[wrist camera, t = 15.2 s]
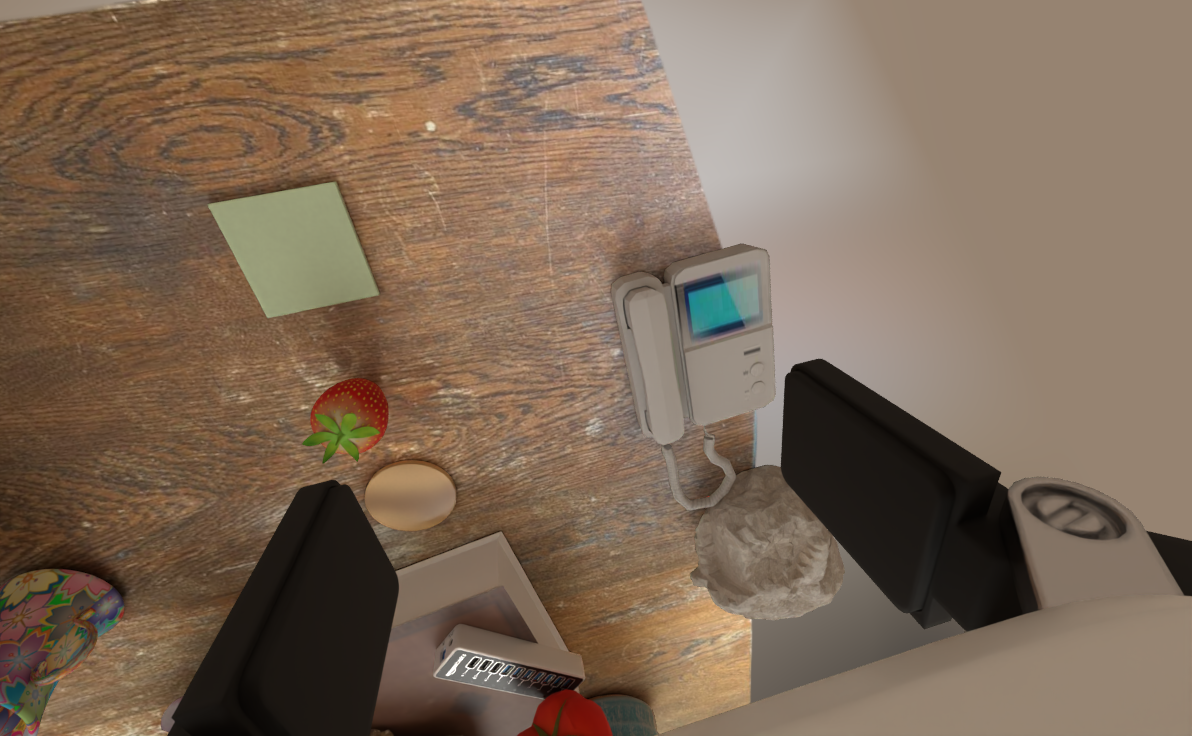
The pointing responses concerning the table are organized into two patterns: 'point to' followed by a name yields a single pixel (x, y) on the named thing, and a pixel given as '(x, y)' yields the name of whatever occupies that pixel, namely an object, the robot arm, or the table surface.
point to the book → (426, 617)
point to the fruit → (349, 418)
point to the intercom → (698, 349)
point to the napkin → (297, 248)
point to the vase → (627, 715)
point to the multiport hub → (506, 663)
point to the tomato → (568, 717)
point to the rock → (387, 733)
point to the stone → (765, 550)
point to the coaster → (410, 495)
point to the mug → (47, 638)
